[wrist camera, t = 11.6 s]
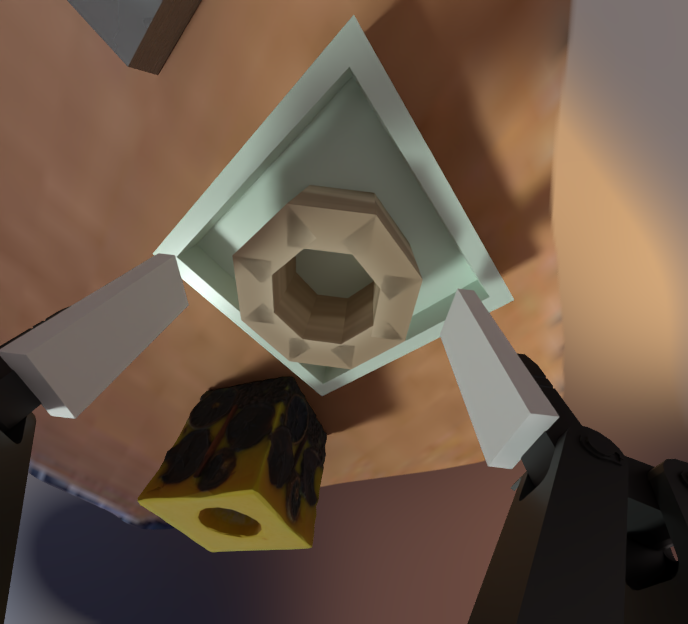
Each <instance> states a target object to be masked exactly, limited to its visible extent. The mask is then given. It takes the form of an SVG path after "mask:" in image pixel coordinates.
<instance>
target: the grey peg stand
mask: <svg viewBox="0 0 688 624" xmlns="http://www.w3.org/2000/svg"><path fill="white" fill-rule="evenodd" d="M67 1H68V2H69V3H70V4H71V5H72V6H73V7H74V8H75V9H76V10H77V12H78V13H79V14H80V15H81V16H82V17H83V18H84V19H85V20H86V21H87V23H88V24H89V25H90V26H91V27H92V28H93V29H94V30H95V31H96V32H97V33H98V35H99V36H100V37H101V38H102V39H103V40H104V41H105V42H106V43H107V44H108V45H109V47H110V48H111V49H112V50H113V51H114V52H115V53H116V54H117V55H118V56H119V57H120V59H121V60H122V61H123V62H124V63H125V64H126V65H127V66H128V67H131V68H135V69H138V70H142V71H145V72H149V73H152V74H156V75H158V73H159V71H160V70H161V68H162V66H163V65H164V63H165V61H166V59H167V58H168V56H169V54H170V53H171V51H172V49H173V47H174V46H175V44H176V42H177V41H178V39H179V37H180V36H181V34H182V32H183V30H184V29H185V27H186V25H187V24H188V22H189V20H190V18H191V17H192V15H193V13H194V12H195V10H196V8H197V7H198V5H199V3H200V1H201V0H67Z"/></svg>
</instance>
